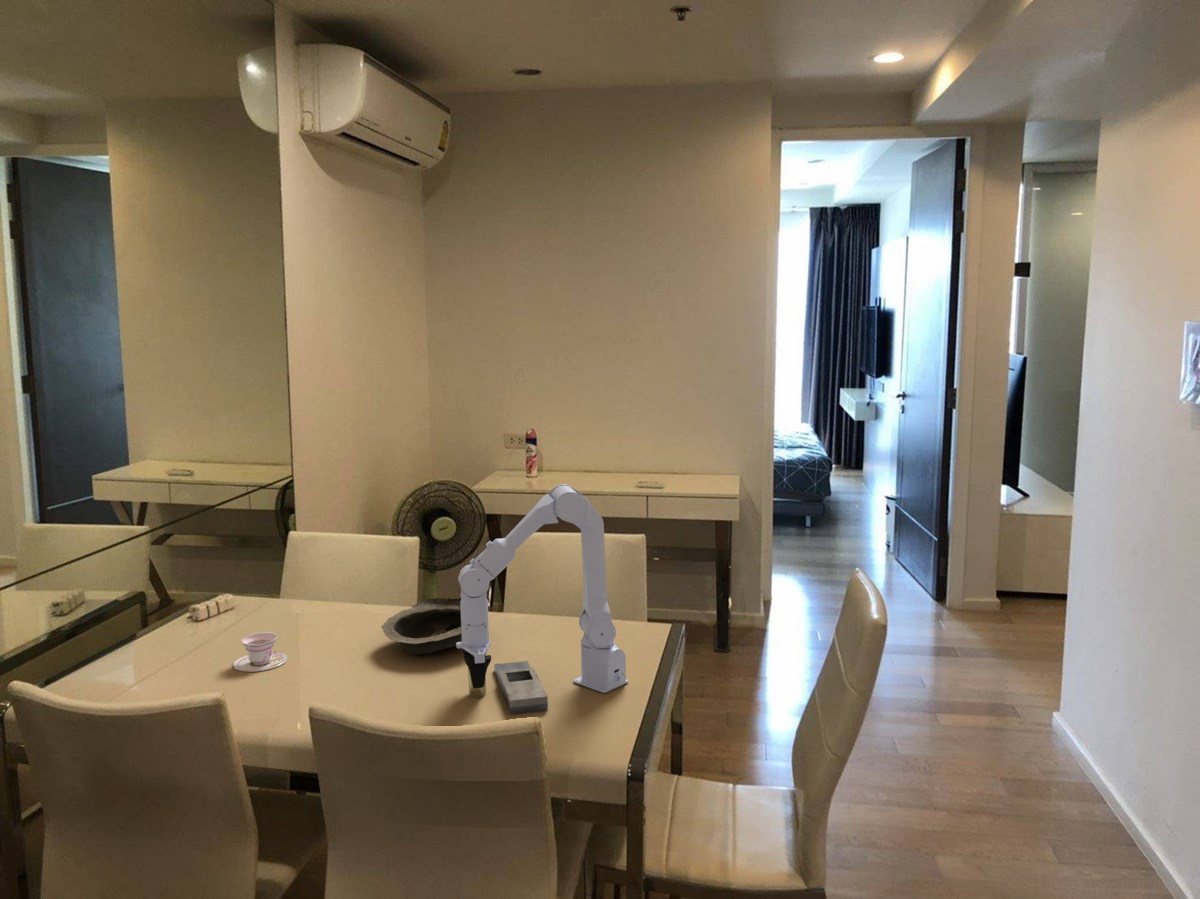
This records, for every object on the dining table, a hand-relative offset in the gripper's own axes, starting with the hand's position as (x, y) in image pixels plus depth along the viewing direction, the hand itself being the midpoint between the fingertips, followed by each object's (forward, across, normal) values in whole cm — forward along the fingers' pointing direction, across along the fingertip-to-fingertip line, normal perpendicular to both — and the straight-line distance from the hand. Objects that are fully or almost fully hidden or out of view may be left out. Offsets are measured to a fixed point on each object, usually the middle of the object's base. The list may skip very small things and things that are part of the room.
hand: (477, 683), depth 196 cm
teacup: (+3, -33, -47) cm, 57 cm away
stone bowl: (+3, -32, -7) cm, 32 cm away
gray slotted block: (+2, 0, +9) cm, 9 cm away
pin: (+2, 0, 0) cm, 2 cm away
